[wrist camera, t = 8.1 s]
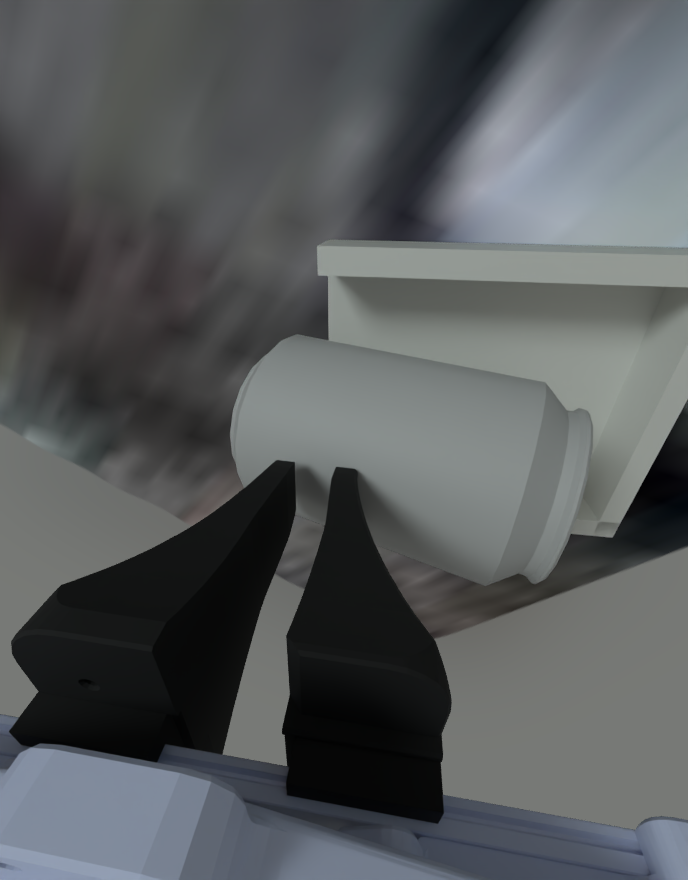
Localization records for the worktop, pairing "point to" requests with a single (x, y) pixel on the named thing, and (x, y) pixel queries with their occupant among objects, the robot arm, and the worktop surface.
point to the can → (421, 453)
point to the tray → (536, 334)
